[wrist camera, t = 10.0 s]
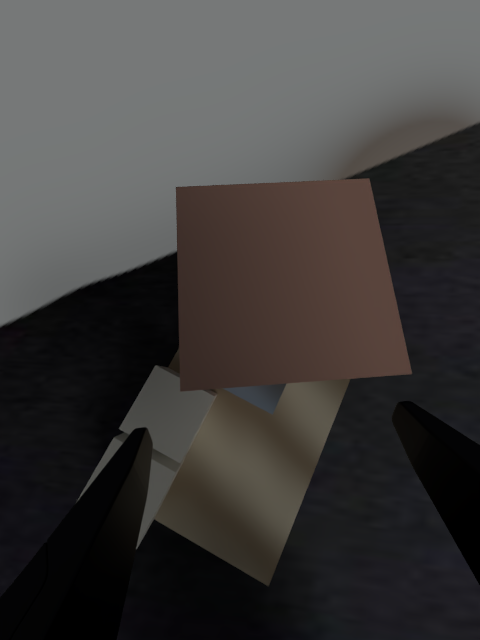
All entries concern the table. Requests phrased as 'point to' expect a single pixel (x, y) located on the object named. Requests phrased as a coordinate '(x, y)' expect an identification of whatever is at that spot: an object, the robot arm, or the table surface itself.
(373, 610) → the table surface
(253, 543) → the board
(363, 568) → the table surface
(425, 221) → the table surface
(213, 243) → the tower block
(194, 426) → the built blocks
